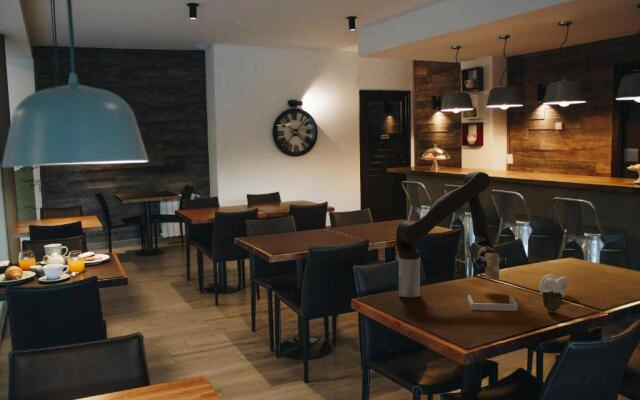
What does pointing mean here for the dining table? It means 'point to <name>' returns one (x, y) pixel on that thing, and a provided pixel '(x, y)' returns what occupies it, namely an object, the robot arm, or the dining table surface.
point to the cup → (552, 301)
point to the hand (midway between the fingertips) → (493, 264)
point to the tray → (493, 305)
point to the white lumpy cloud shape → (553, 284)
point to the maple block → (492, 266)
